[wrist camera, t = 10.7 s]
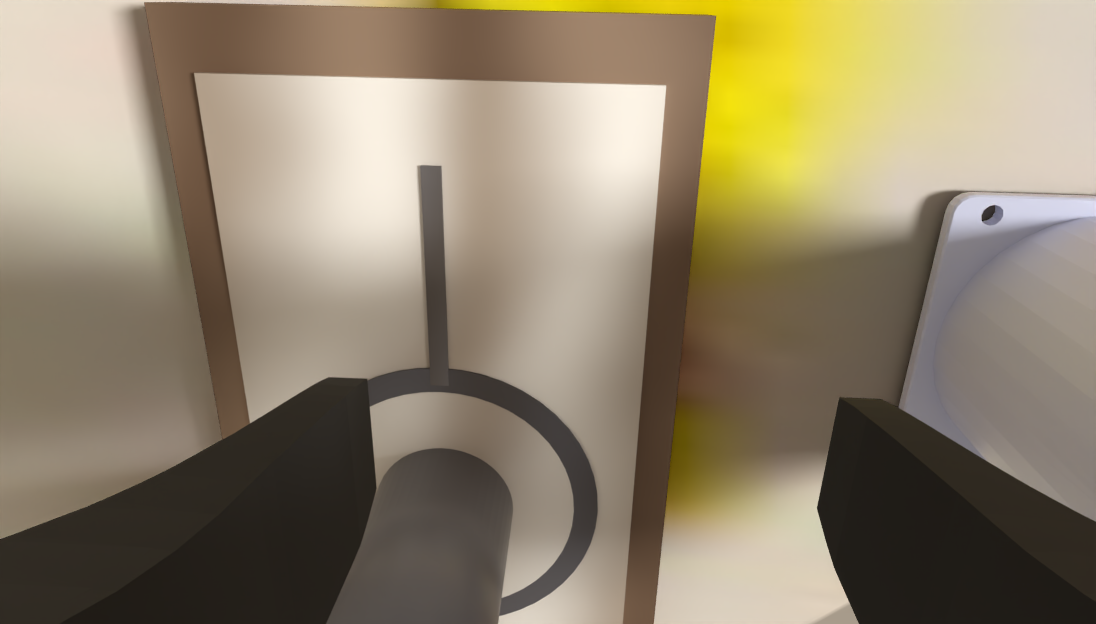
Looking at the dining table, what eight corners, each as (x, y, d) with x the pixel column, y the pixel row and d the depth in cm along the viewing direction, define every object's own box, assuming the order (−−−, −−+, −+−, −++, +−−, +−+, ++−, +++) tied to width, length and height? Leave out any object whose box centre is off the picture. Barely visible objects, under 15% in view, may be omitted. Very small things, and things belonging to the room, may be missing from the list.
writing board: (707, 14, 18) (718, 16, 16) (646, 640, 25) (649, 678, 24) (170, 2, 18) (135, 2, 17) (274, 621, 26) (255, 657, 24)
